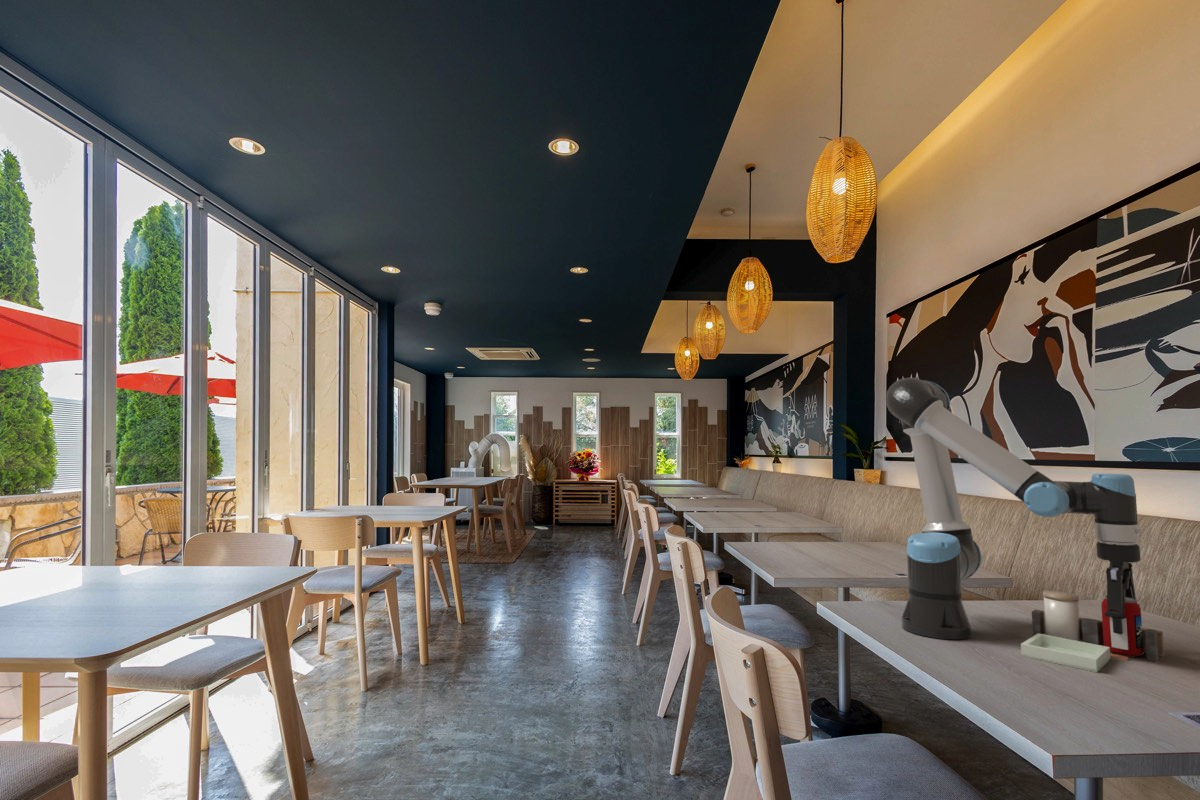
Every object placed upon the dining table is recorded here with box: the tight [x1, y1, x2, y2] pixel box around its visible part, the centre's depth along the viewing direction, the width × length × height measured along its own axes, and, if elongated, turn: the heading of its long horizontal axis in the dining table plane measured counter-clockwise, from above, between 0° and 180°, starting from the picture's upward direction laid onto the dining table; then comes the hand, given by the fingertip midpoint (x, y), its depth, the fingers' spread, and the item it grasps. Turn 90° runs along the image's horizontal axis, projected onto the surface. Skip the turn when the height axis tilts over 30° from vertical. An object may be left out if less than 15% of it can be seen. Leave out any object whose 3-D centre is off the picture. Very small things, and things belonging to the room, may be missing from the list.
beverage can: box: [1101, 595, 1144, 658], centre depth 136 cm, size 7×7×12 cm
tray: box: [1020, 633, 1112, 673], centre depth 133 cm, size 13×13×2 cm
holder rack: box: [1031, 609, 1165, 662], centre depth 140 cm, size 23×12×6 cm, turn 41°
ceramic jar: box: [1042, 590, 1082, 642], centre depth 145 cm, size 7×7×11 cm
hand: (1124, 642), depth 137 cm, fingers open, 10 cm apart
